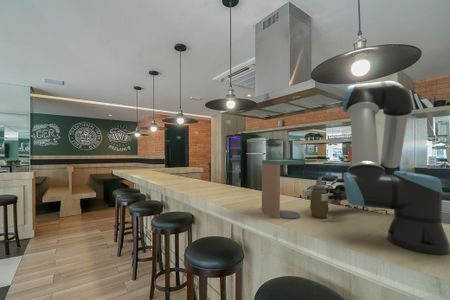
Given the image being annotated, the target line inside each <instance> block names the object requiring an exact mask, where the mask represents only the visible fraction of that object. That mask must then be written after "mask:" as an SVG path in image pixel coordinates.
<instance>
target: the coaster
mask: <svg viewBox="0 0 450 300" xmlns="http://www.w3.org/2000/svg"><path fill="white" fill-rule="evenodd" d="M280 219H285V220H297V219H301V214H300V213H299V212H297V211H293V210H281V209H280Z"/></svg>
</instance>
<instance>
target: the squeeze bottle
mask: <svg viewBox="0 0 450 300" xmlns="http://www.w3.org/2000/svg"><path fill="white" fill-rule="evenodd" d="M325 186H326V185H323V182H322V177H320V176H319V177H317V180H316V184H313V188H312V189H313V190H312V194H311V196H310V207H309V209H310V212H311V216H313V217H315V218H319V219H320V218H322V219H323V218H324V219H325V218H326V217H327V215H328V213H329V209H330V207H329V200H327V201H321V194H327V191H326V190H324V189H325V188H326V187H325Z"/></svg>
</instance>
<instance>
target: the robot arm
mask: <svg viewBox="0 0 450 300" xmlns="http://www.w3.org/2000/svg"><path fill="white" fill-rule="evenodd" d="M412 100H413V99H412V96H411V94H410V93H409V91H408V90H407V88H406V87H405V86H404V85H402V84H401V83H399V82H398V81H393V80H383V81H376V82H366V83H355V84H351V85H348V86H347V87H346V88H345V91H344V96H343V105H342V112H343V113H346V115H347V116H348V117H349V118H350V129H351V130H350V131H351V137H350V138H351V161H350V166H349V167H347V172H346V171H345V172H344V173H343V184H337V185H336V186H335V187H334V188H333V187H331V188H328V187H325V189H324V190H326V191H327V194H321V201H327V200H328V201H333V200H334V201H337V200H338V201H342V202H343V201H346V200H347V202H348V204H350V205H351V206H359V207H361V208H373V209H374V208H376V209H384V210H385V209H386V210H392V211H394V212H393V214H394V215H393V218H392V221H391V223H390V225H389V227H388V230H387V240H388V241H389V242H391V243H392V244H394V245H396V246H399V247H401V248H403V249H407V250H410V251H414V252H418V253H423V254H430V255H447V254H449V253H450V242H449V239H448V237H447V235H446V232H445V229H444V227H443V224H442V210H443V209H442V208H443V203H442V202H443V201H442V200H443V199H442V198H443V190H442V189H443V188H442V182H441V180H440V178H439V177H436V176H432V175H428V174H422V173H415V172H409V171H405V167H404V165H401V161H402V160H401V159H402V155H403V154H402V153H403V148H404V142H405V135H406V130H407V129H406V128H407V123H408V117H409V115H411V114H412V111H413V101H412ZM381 110H382V113H383V115H385V118H384V127H383V137H382V144H381V154H380V155H381V156H380V159H379V147H378V146H379V145H378V136H377V125H376V124H377V123H376V122H377V121H376V115H377V114H378V113H379V111H381ZM313 189H314V188H310V189H304V190H302V192H303V193H302V196H303V197H309V196H310V197H311V194H312V190H313Z"/></svg>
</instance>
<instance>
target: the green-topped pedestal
mask: <svg viewBox="0 0 450 300" xmlns="http://www.w3.org/2000/svg"><path fill="white" fill-rule="evenodd" d="M305 161H306V159H305V158H288V157H287V158H286V159H261V213H262V214H265V215H267V216H270V217H272V218H274V219H276V220H279V219H281V218H280V211H281V206H280V205H281V204H280V203H281V166H283V165H285V166H289V165H291V166H292V165H306V162H305Z"/></svg>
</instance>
